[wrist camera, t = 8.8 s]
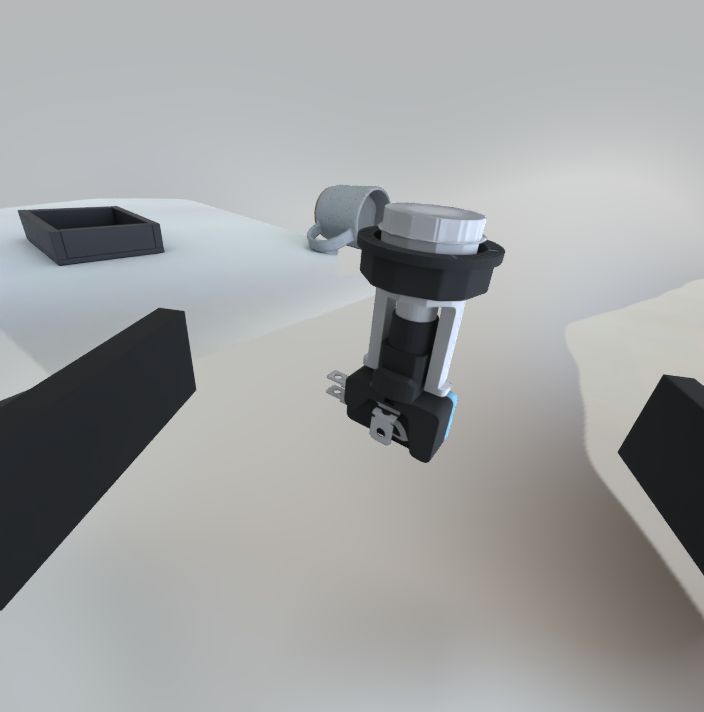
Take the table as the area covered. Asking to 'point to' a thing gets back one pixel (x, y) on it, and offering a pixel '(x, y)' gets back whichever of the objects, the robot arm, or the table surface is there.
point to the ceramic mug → (346, 215)
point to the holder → (90, 233)
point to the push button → (416, 320)
